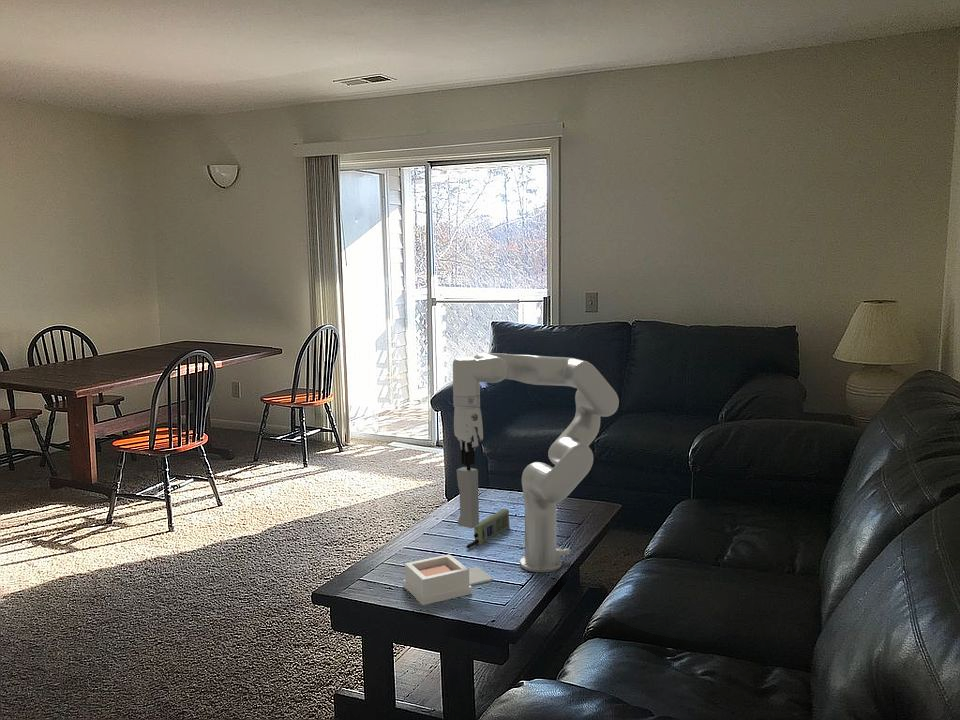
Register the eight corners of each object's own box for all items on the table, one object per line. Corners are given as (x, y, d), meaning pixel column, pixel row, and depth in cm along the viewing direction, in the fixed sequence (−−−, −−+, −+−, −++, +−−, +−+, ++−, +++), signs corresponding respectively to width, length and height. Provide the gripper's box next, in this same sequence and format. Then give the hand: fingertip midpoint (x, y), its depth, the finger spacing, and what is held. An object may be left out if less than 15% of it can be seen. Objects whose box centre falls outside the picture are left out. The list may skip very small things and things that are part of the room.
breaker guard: (450, 576, 236) (449, 553, 235) (471, 593, 224) (471, 569, 223) (403, 586, 230) (402, 563, 229) (422, 605, 217) (421, 580, 216)
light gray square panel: (477, 568, 242) (477, 566, 242) (493, 580, 233) (493, 578, 233) (447, 575, 237) (447, 573, 237) (462, 587, 228) (462, 585, 228)
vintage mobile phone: (465, 521, 236) (463, 438, 233) (479, 524, 233) (477, 440, 230) (457, 525, 233) (455, 441, 230) (471, 528, 230) (469, 443, 227)
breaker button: (444, 575, 231) (444, 565, 231) (455, 583, 225) (454, 573, 225) (418, 580, 228) (418, 570, 227) (428, 589, 222) (428, 579, 221)
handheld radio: (511, 528, 277) (472, 551, 256) (502, 526, 279) (464, 550, 258) (510, 509, 276) (471, 531, 255) (501, 508, 278) (462, 530, 257)
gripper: (491, 403, 223) (492, 468, 225) (466, 395, 236) (467, 456, 239) (466, 406, 219) (468, 472, 222) (443, 398, 233) (444, 459, 235)
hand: (468, 463), depth 230 cm, fingers closed on vintage mobile phone, 1 cm apart
